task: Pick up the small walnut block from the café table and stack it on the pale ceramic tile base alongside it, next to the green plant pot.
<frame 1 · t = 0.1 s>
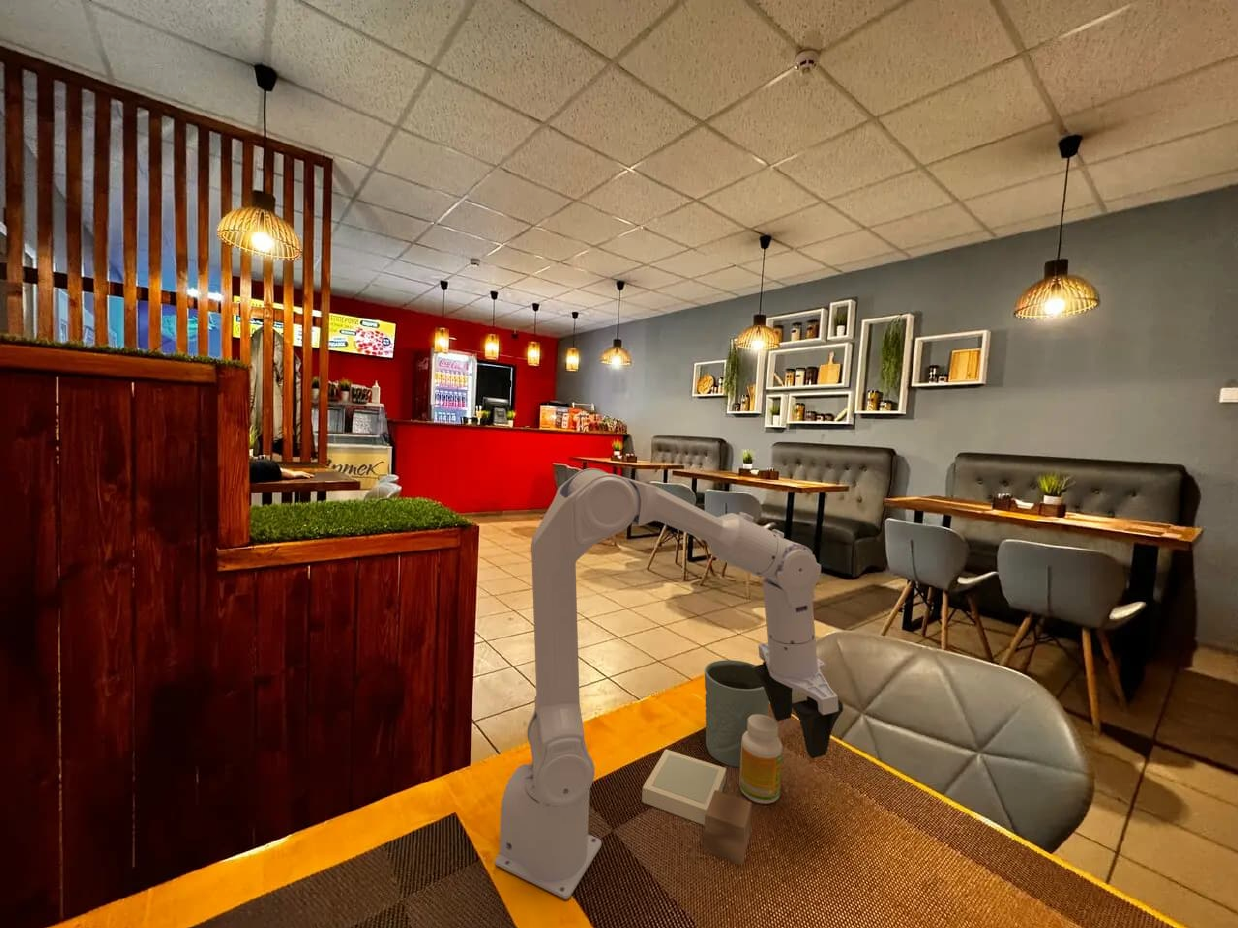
hand: (799, 735, 63), 10 cm above the table, tool pointing down, fingers open, 7 cm apart
tile base: (685, 791, 67), on the table
green plant pot: (734, 749, 77), on the table
supplement bottle: (759, 791, 68), on the table
walnut block: (726, 844, 58), on the table
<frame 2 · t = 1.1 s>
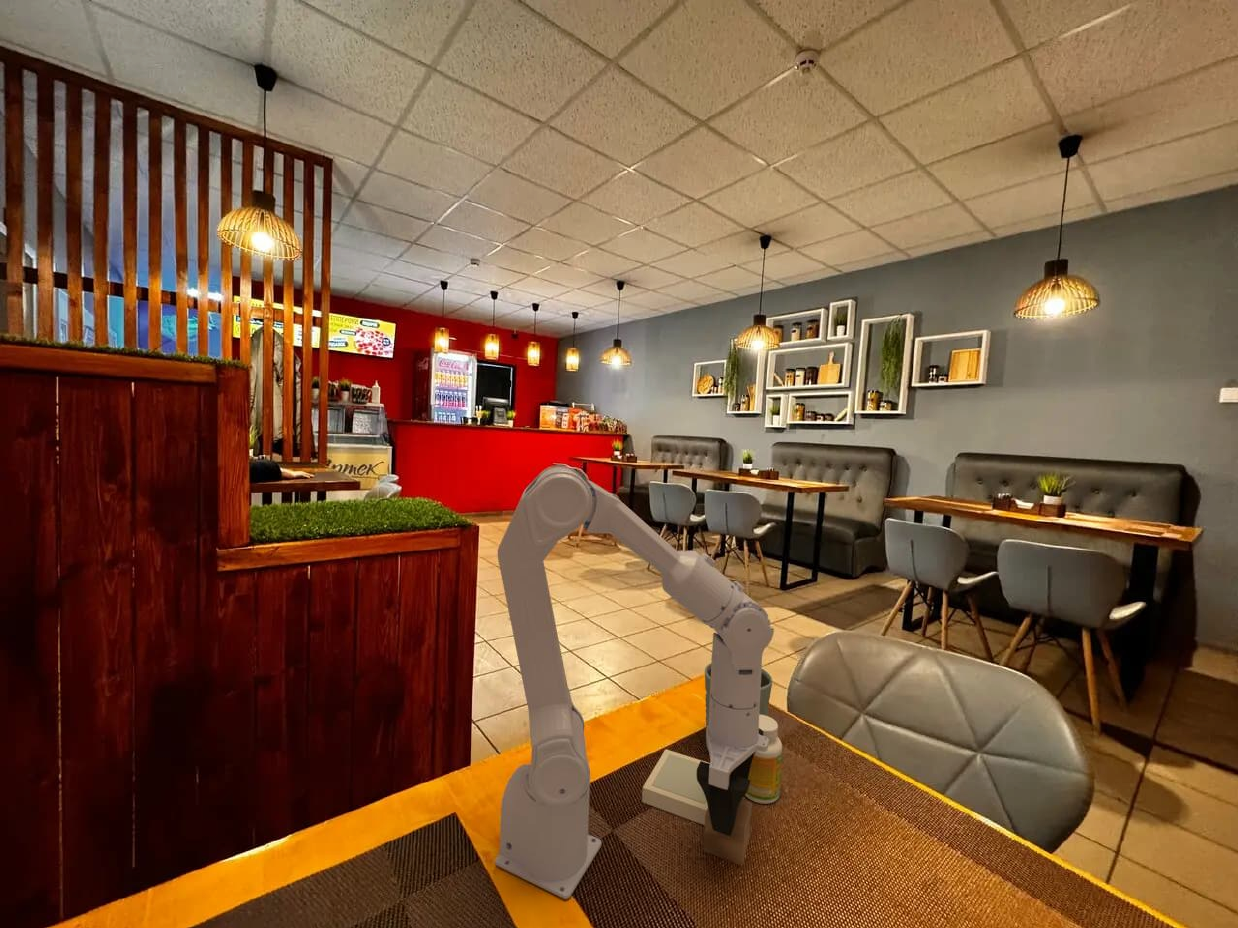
hand: (729, 807, 58), 4 cm above the table, tool pointing down, fingers open, 7 cm apart
nothing on the table moved.
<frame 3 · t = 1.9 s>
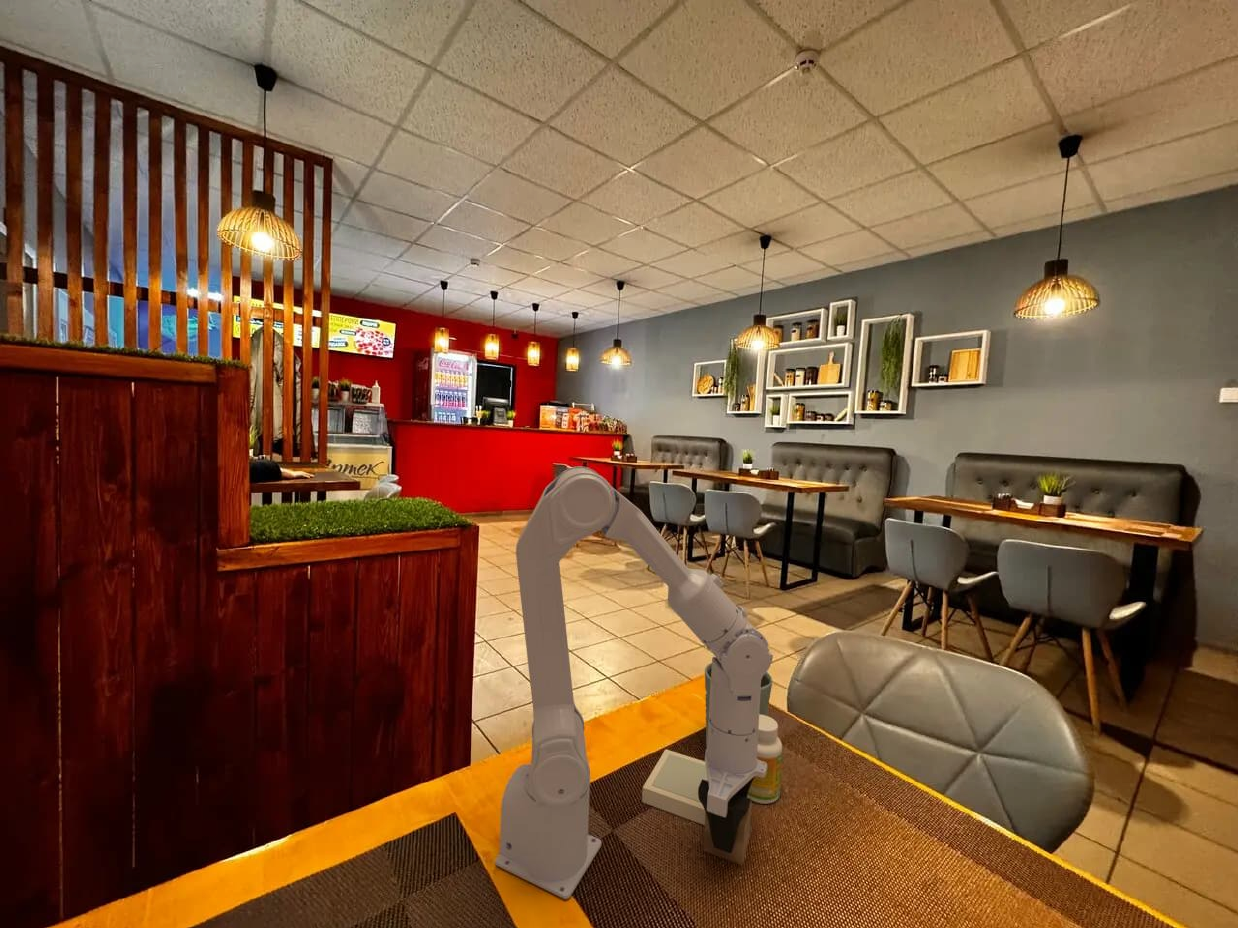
hand: (727, 832, 58), 1 cm above the table, tool pointing down, fingers closed on walnut block, 4 cm apart
walnut block: (727, 843, 59), on the table, touching gripper
everything else where it was.
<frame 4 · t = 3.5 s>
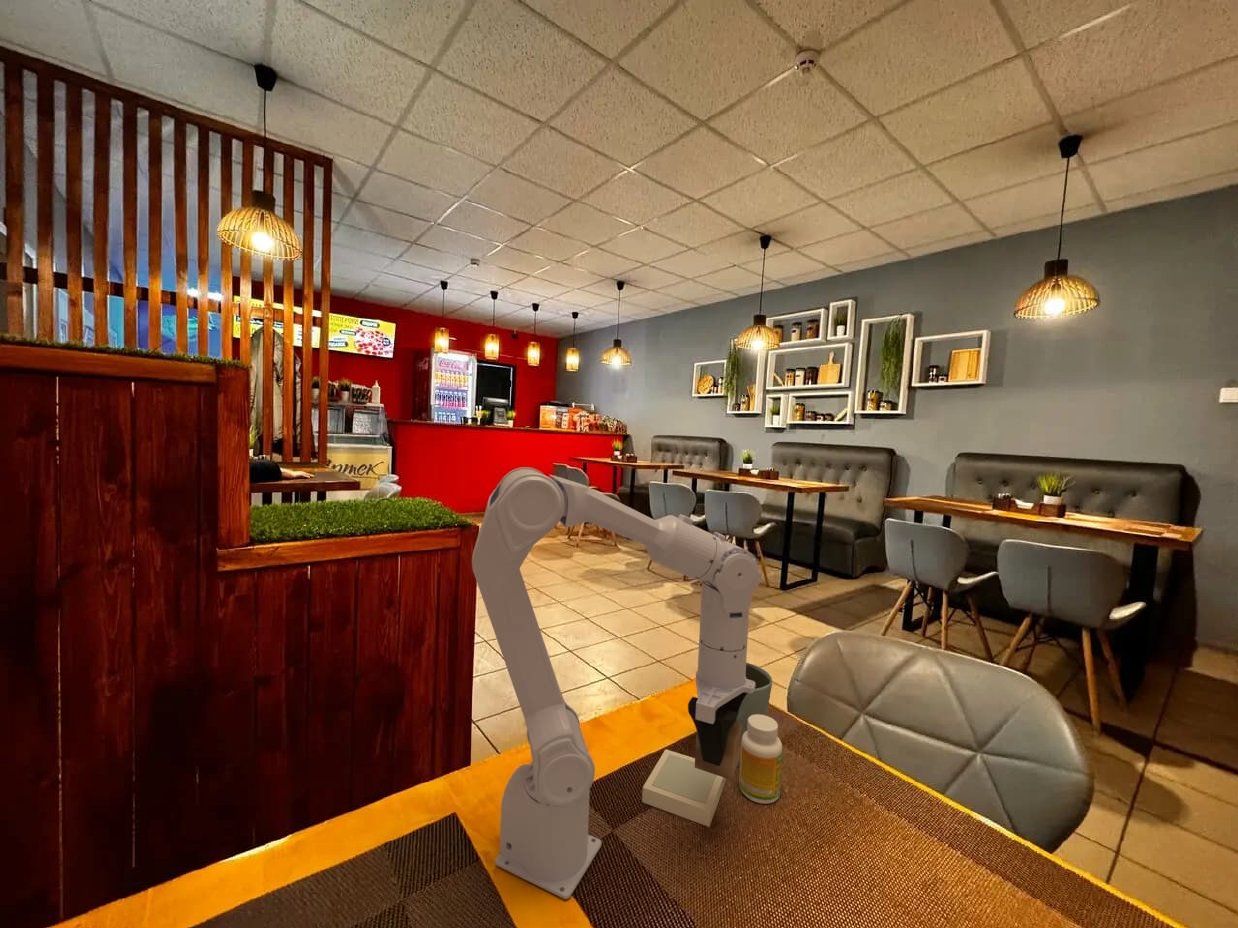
hand: (717, 749, 60), 10 cm above the table, tool pointing down, fingers closed on walnut block, 4 cm apart
walnut block: (717, 762, 60), point 8 cm above the table, touching gripper
everything else where it was.
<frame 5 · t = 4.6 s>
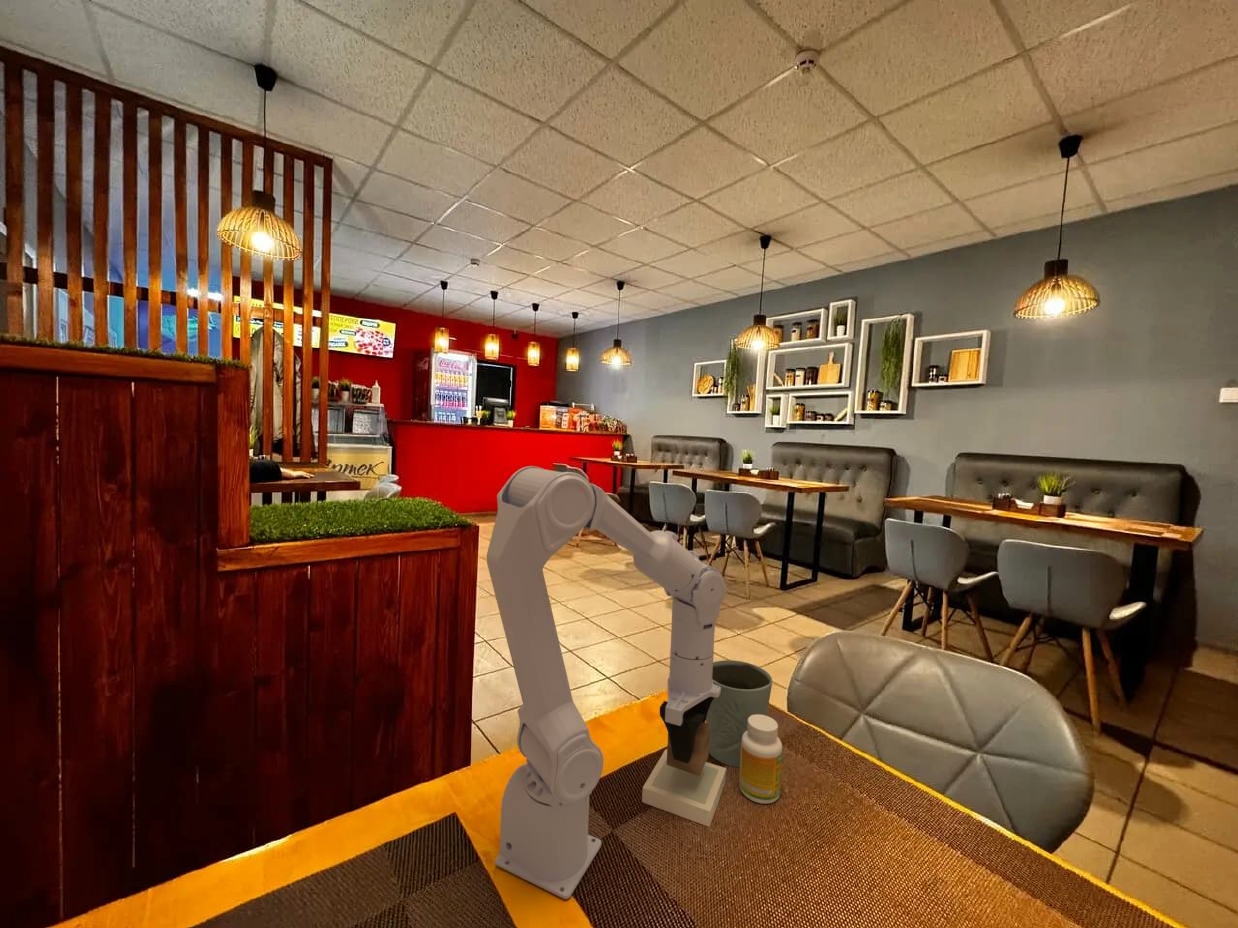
hand: (687, 748, 67), 6 cm above the table, tool pointing down, fingers closed on walnut block, 4 cm apart
walnut block: (687, 760, 67), point 4 cm above the table, touching gripper
everything else where it was.
when the fingers open (4 cm above the table, at t = 5.4 s): walnut block stays where it is, resting on tile base.
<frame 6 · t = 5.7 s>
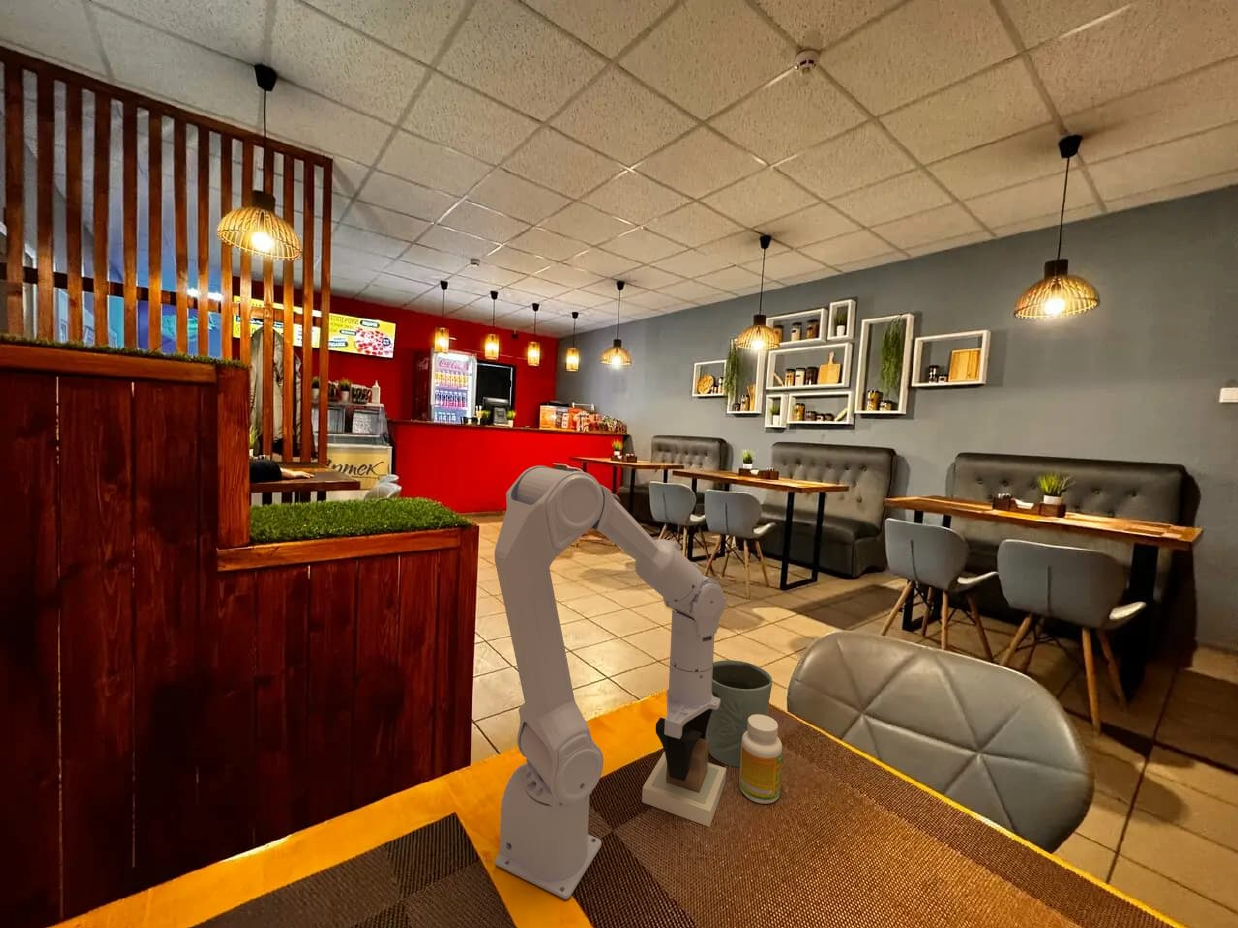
hand: (686, 760, 67), 4 cm above the table, tool pointing down, fingers open, 7 cm apart
walnut block: (687, 777, 67), point 2 cm above the table, touching tile base
everything else where it was.
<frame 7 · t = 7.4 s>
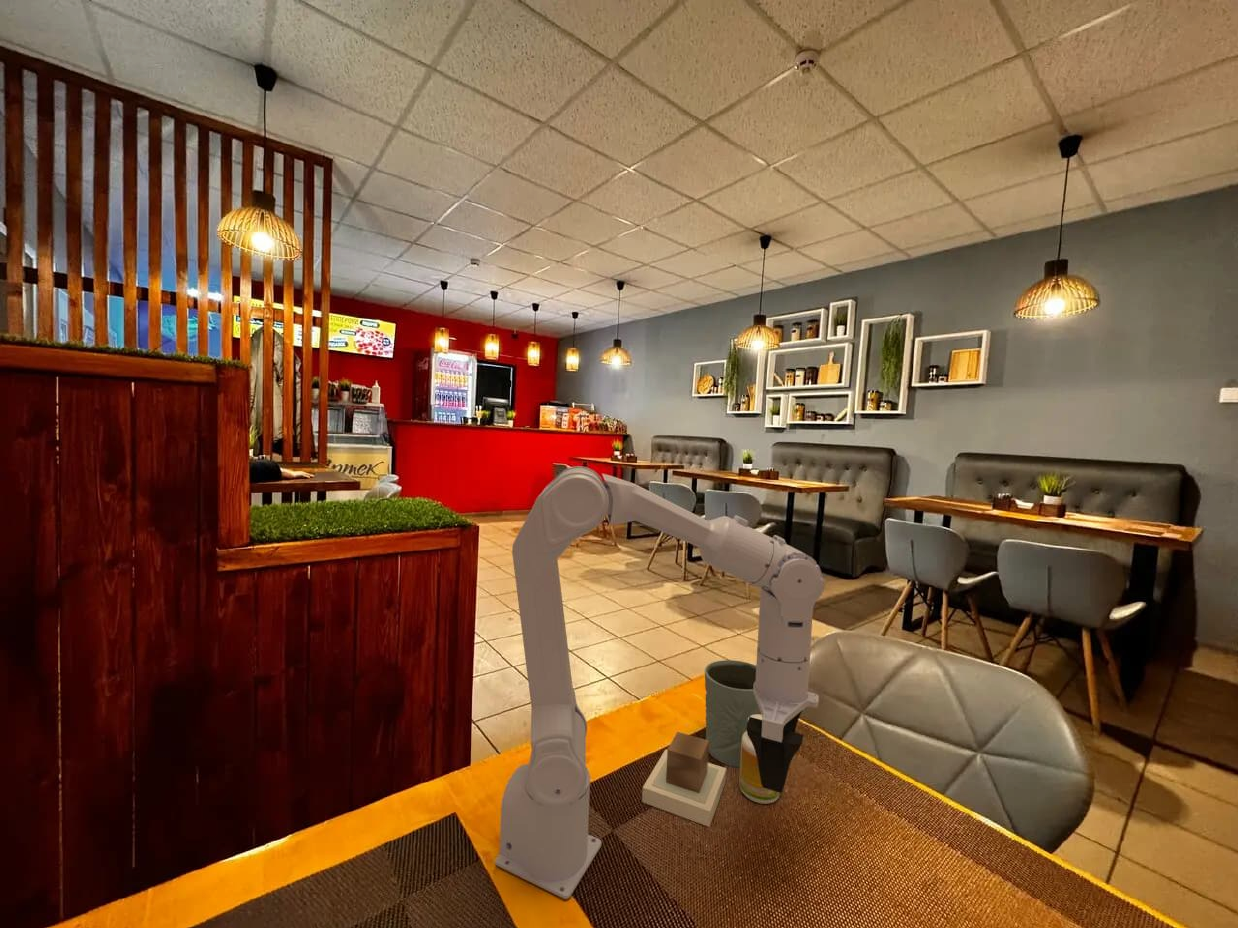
hand: (776, 767, 57), 10 cm above the table, tool pointing down, fingers open, 7 cm apart
nothing on the table moved.
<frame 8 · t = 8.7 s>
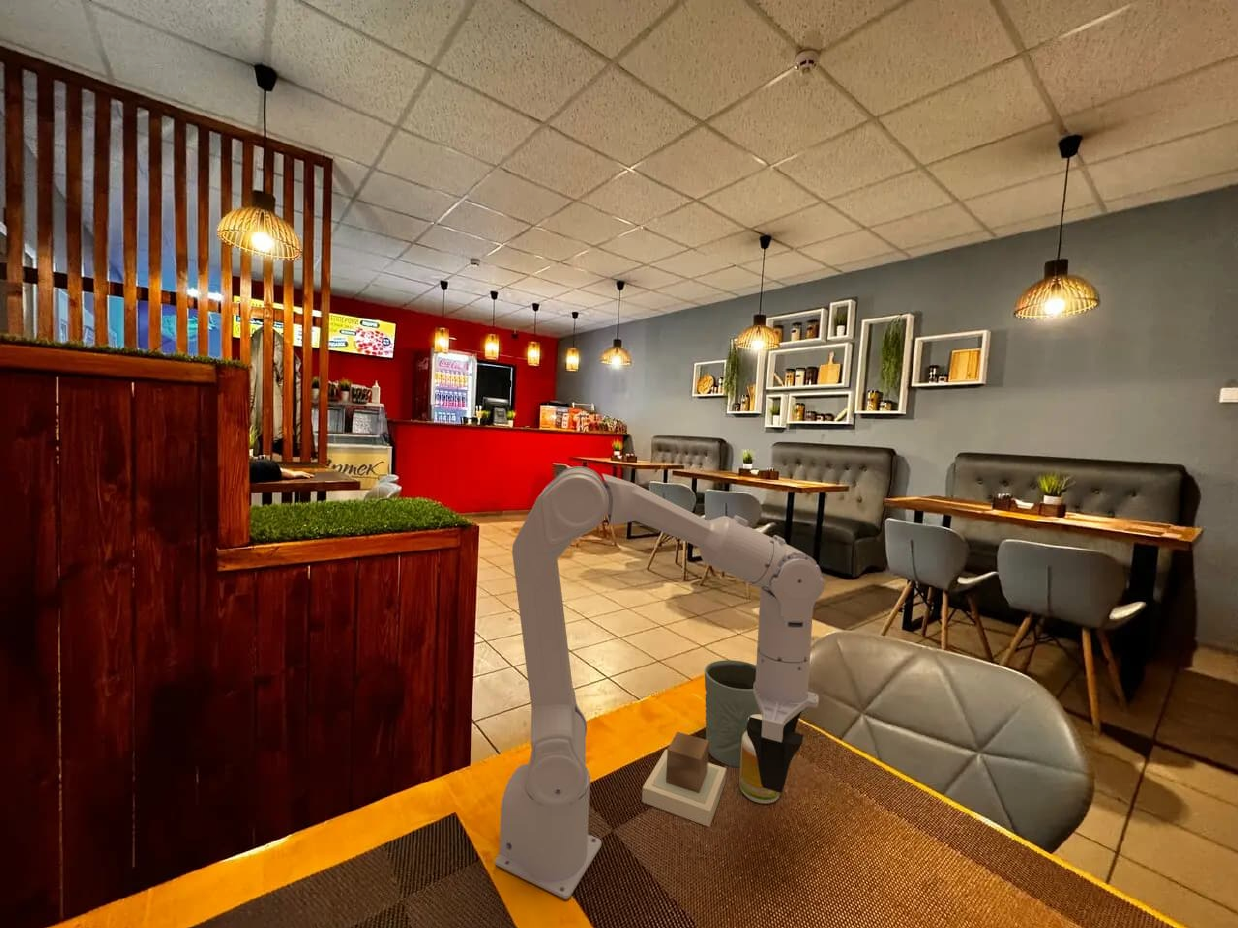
hand: (776, 767, 57), 10 cm above the table, tool pointing down, fingers open, 7 cm apart
nothing on the table moved.
at the end: walnut block 0.1 cm off-centre on the tile base, point 2.1 cm above the tile base's base; walnut block tilted 0°; the gripper is holding nothing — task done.
